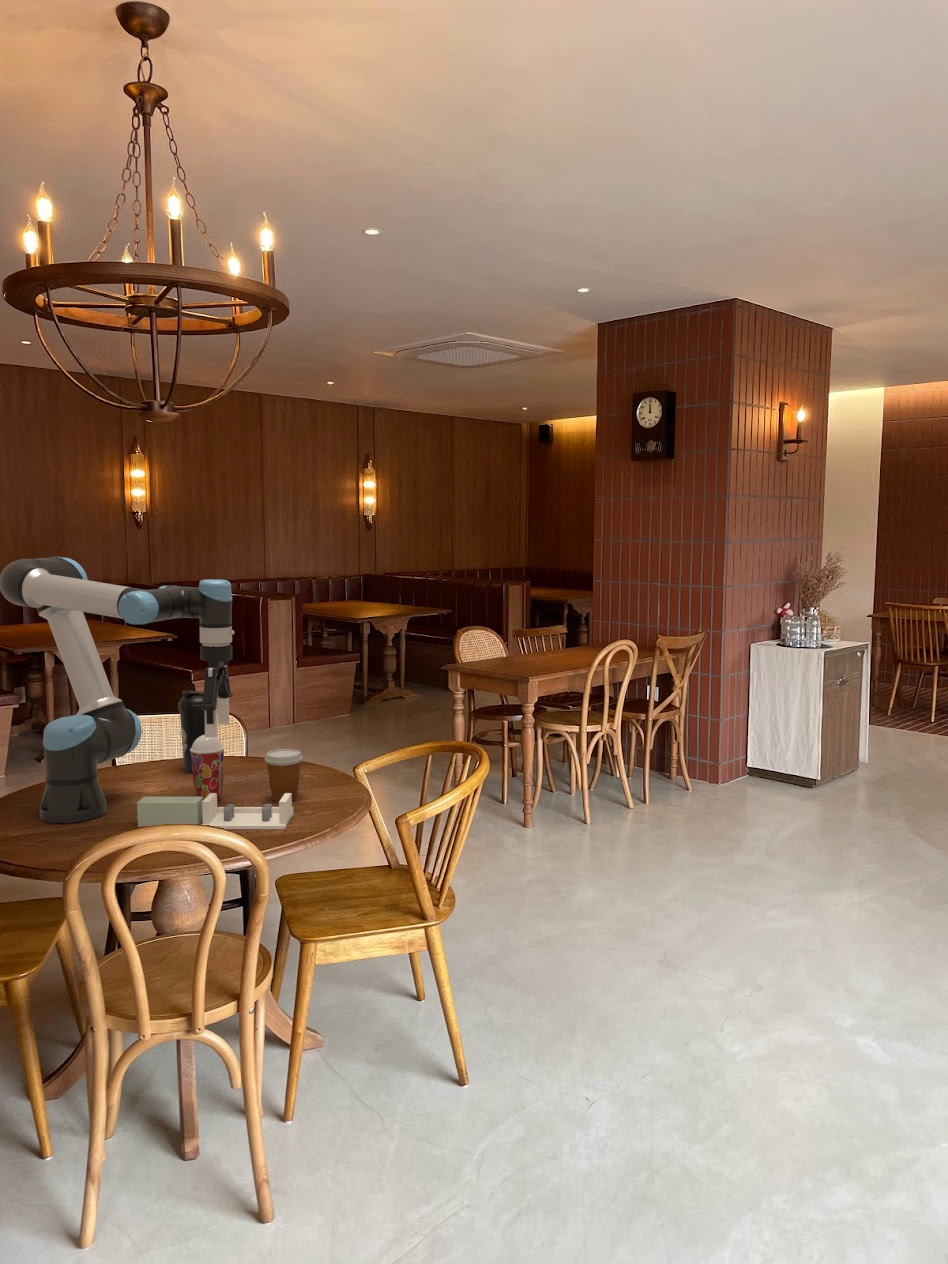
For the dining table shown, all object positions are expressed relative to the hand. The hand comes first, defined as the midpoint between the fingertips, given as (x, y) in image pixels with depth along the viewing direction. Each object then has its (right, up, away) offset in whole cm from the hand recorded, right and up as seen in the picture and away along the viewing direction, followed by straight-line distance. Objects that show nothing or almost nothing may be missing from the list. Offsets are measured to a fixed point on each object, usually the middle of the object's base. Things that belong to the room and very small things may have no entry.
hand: (217, 730), depth 233 cm
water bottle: (-16, -16, +41) cm, 47 cm away
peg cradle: (+9, -21, -5) cm, 24 cm away
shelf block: (-9, -22, -6) cm, 24 cm away
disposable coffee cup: (+14, -19, +14) cm, 27 cm away
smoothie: (-5, -19, +12) cm, 23 cm away
